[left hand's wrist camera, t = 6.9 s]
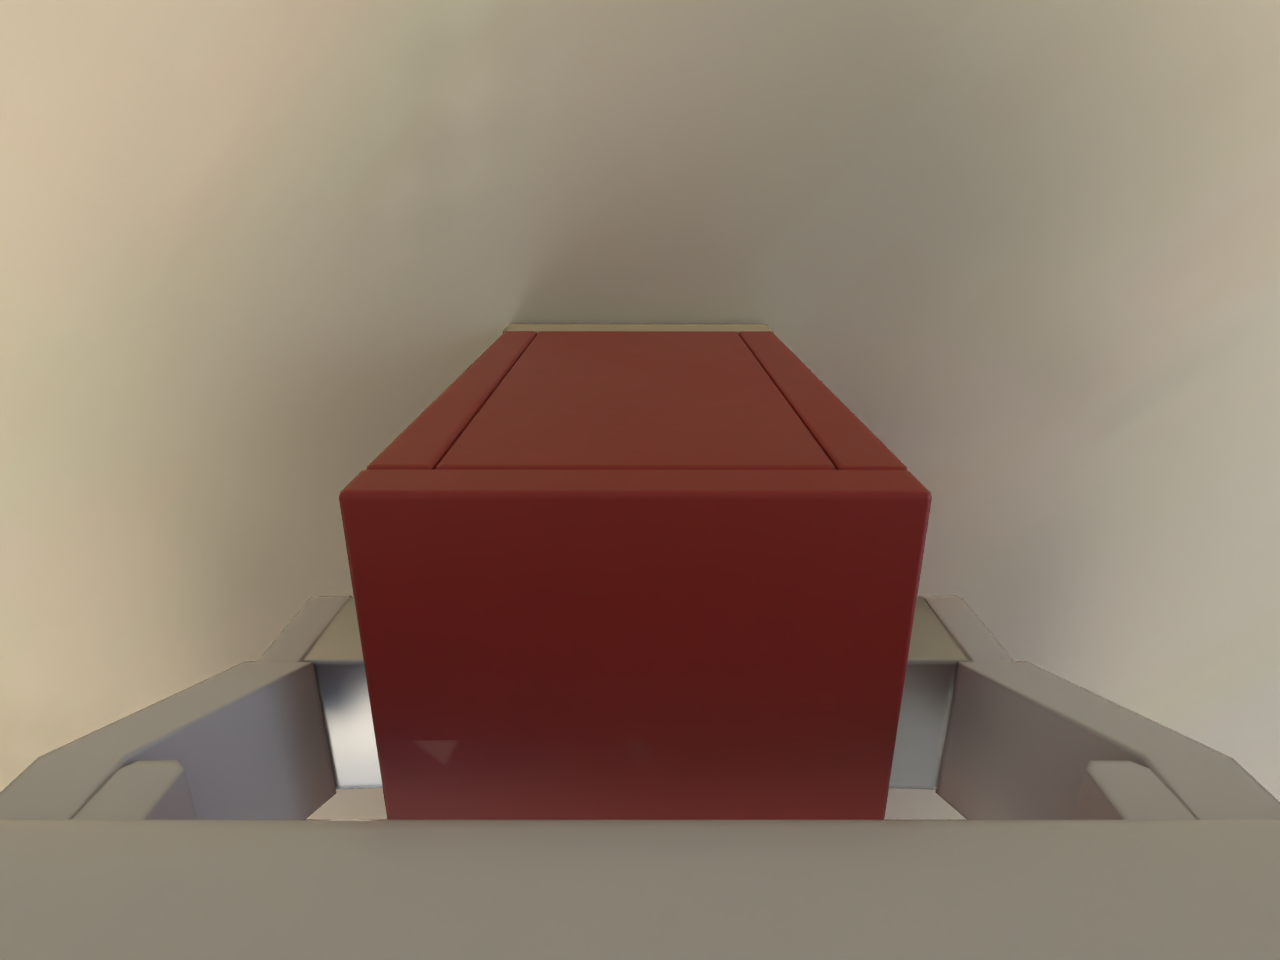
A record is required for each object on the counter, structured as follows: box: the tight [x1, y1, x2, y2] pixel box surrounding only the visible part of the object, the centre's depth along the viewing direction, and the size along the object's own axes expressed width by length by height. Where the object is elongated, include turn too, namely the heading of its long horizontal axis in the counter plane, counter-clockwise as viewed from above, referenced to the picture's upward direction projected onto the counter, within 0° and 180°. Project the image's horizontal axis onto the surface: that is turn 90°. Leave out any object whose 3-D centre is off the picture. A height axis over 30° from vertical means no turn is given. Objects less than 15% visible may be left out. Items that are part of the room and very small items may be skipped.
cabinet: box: [339, 324, 932, 820], centre depth 15 cm, size 19×6×10 cm, turn 0°
